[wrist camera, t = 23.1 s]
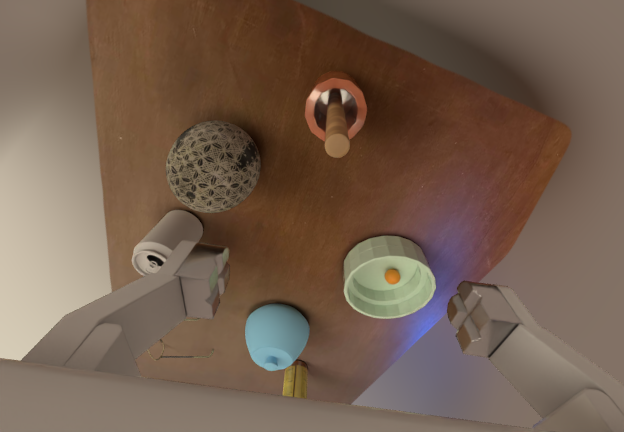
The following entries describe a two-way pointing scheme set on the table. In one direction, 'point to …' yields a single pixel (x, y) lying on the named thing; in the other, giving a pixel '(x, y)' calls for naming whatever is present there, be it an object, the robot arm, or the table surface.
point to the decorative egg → (213, 166)
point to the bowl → (371, 277)
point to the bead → (392, 276)
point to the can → (165, 240)
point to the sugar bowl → (276, 335)
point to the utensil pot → (350, 97)
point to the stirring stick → (336, 128)
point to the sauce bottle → (296, 380)
